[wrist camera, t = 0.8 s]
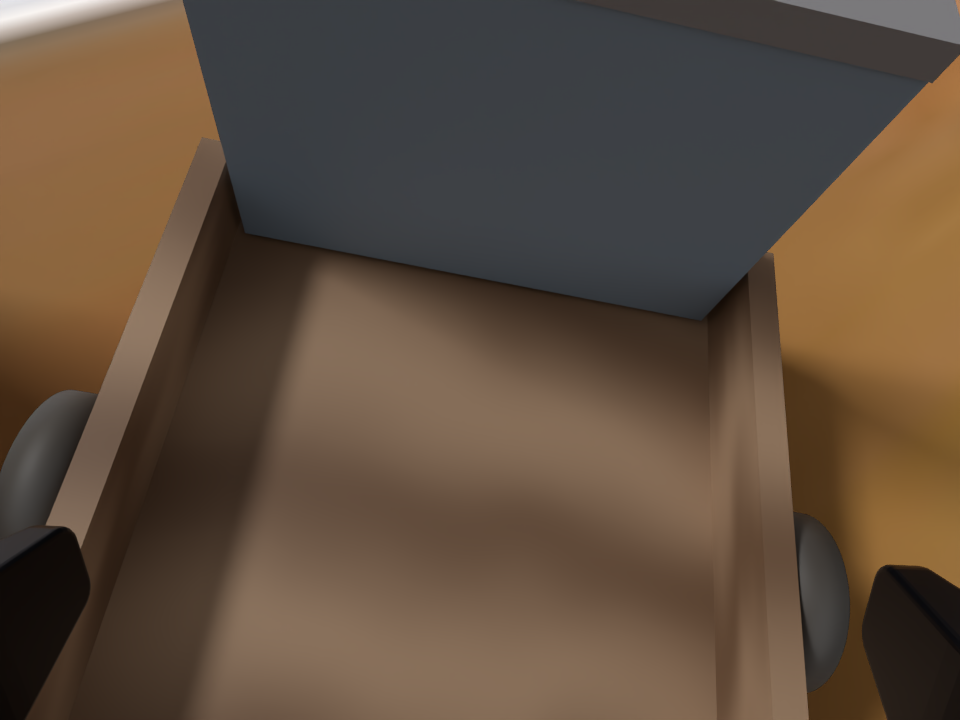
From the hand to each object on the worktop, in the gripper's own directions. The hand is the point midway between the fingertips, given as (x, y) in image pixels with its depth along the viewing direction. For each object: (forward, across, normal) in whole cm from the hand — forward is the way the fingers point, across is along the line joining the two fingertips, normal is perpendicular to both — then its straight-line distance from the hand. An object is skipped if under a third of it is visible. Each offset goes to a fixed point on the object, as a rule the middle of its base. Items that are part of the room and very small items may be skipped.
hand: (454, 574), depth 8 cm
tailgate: (+14, +1, 0) cm, 15 cm away
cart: (+9, +2, +7) cm, 12 cm away
